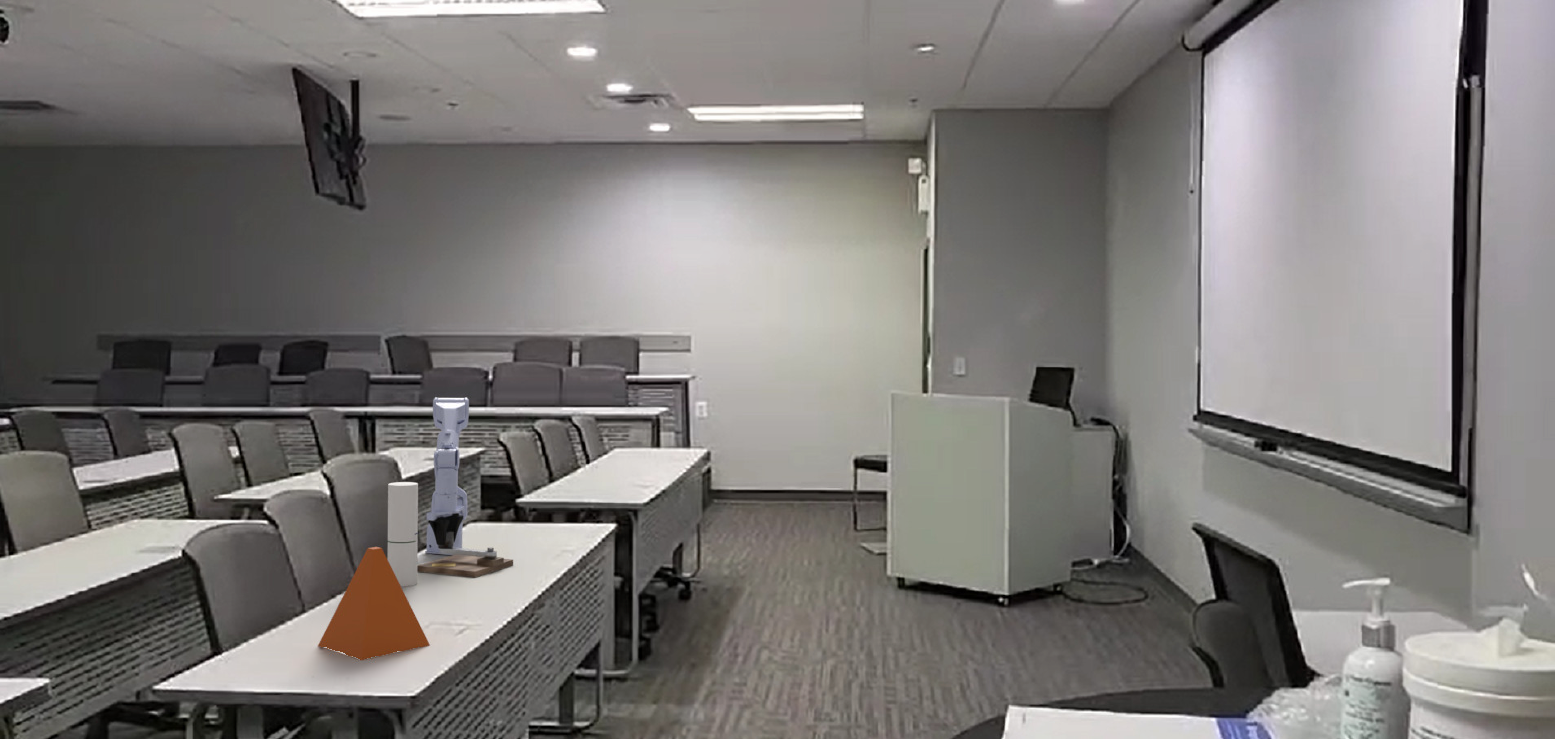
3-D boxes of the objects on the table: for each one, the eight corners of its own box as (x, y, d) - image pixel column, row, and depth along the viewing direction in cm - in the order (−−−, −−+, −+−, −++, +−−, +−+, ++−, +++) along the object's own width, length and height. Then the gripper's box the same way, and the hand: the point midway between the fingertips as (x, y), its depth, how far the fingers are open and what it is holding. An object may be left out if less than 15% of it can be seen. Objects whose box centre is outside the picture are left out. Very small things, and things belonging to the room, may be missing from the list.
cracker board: (416, 571, 327) (416, 560, 327) (456, 559, 344) (456, 548, 344) (476, 577, 320) (477, 565, 320) (514, 565, 337) (514, 554, 337)
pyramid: (385, 632, 263) (386, 538, 262) (430, 646, 253) (431, 548, 252) (317, 646, 251) (317, 548, 250) (361, 661, 241) (361, 558, 240)
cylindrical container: (421, 581, 315) (422, 482, 314) (410, 586, 308) (411, 486, 307) (394, 580, 315) (395, 481, 315) (382, 585, 308) (383, 485, 307)
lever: (499, 556, 332) (500, 534, 332) (491, 558, 328) (491, 536, 328) (443, 551, 338) (444, 529, 338) (434, 553, 334) (435, 531, 334)
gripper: (442, 497, 327) (442, 549, 327) (474, 491, 340) (473, 540, 341) (420, 495, 329) (419, 546, 329) (452, 489, 343) (452, 538, 343)
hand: (445, 543), depth 335 cm, fingers closed on lever, 4 cm apart
